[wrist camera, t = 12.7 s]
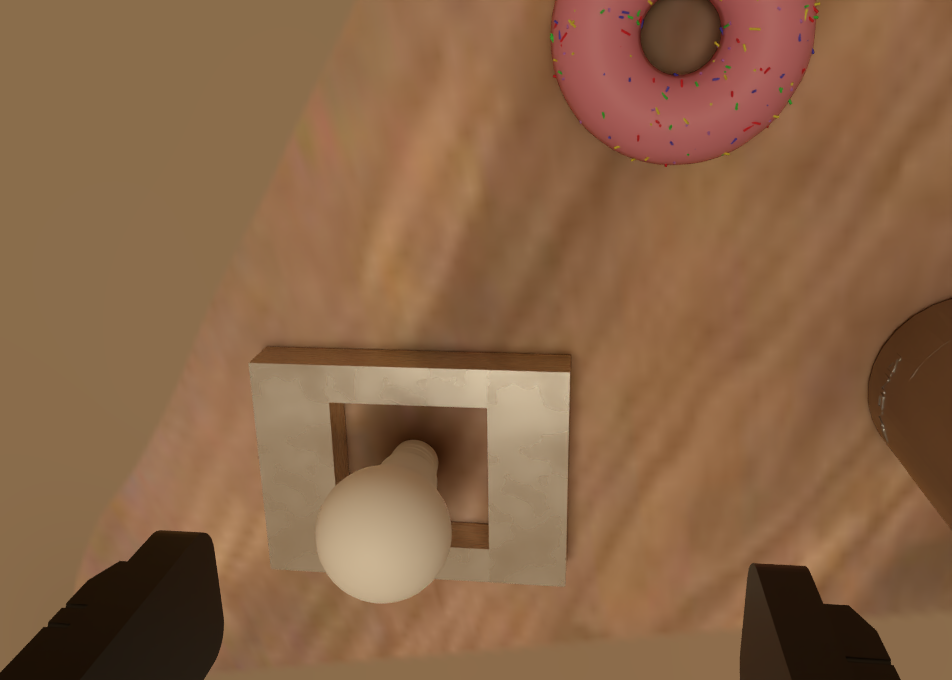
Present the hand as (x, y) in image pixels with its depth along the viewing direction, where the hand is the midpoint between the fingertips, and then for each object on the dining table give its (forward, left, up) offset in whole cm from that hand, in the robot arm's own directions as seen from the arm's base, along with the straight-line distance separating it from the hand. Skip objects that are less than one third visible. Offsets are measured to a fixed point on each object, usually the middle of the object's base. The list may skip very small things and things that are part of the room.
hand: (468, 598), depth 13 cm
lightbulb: (+7, +13, -30) cm, 34 cm away
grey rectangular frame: (+7, +13, -30) cm, 33 cm away
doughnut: (-5, -8, -30) cm, 32 cm away
